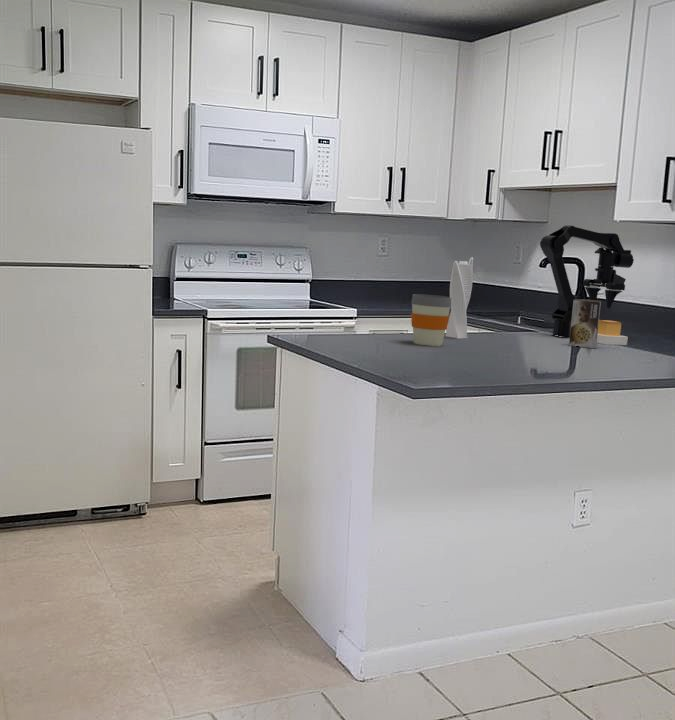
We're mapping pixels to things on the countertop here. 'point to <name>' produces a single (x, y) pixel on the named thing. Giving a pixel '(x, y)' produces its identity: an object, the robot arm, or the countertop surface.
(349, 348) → the countertop surface
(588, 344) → the coffee box
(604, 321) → the yellow short cylinder
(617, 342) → the block
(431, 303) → the reusable coffee cup
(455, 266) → the skyscraper
